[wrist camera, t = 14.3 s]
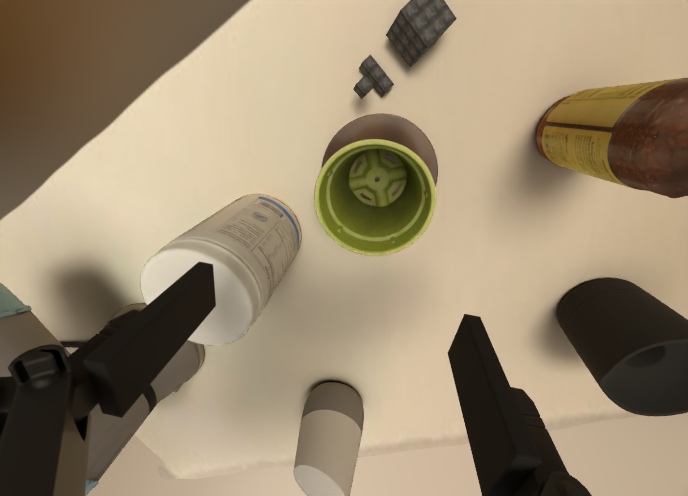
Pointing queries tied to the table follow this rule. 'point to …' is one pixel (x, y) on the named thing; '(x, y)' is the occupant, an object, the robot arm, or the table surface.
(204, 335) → the supplement tub
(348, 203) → the plant pot
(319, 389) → the smart speaker
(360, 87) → the building blocks
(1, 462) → the robot arm
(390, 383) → the table surface
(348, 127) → the coaster
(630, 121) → the sauce bottle
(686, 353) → the pen holder
